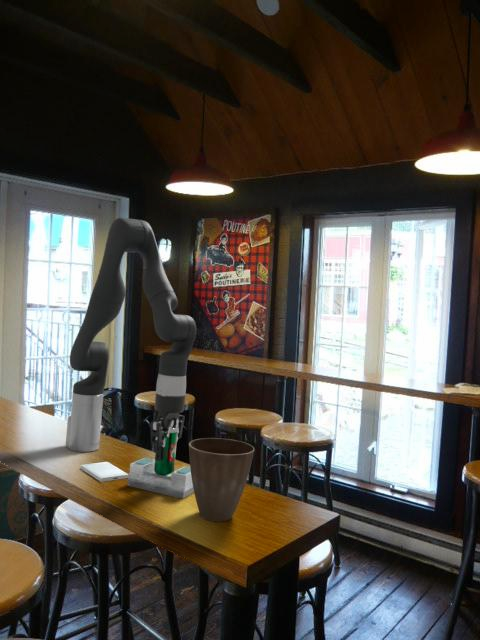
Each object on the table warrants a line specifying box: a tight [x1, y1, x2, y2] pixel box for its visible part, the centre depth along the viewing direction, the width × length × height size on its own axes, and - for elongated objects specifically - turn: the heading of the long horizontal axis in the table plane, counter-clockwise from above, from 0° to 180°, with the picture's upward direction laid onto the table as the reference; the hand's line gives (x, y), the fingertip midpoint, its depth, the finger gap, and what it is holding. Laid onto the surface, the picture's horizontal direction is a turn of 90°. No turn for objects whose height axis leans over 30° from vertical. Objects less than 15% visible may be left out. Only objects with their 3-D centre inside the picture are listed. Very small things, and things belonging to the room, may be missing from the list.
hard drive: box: [80, 461, 129, 483], centre depth 148 cm, size 2×8×12 cm
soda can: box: [154, 427, 178, 476], centre depth 140 cm, size 5×5×12 cm
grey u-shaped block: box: [127, 457, 194, 500], centre depth 140 cm, size 16×8×6 cm, turn 68°
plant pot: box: [188, 437, 255, 522], centre depth 124 cm, size 15×15×16 cm
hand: (165, 458), depth 140 cm, fingers closed on soda can, 5 cm apart
